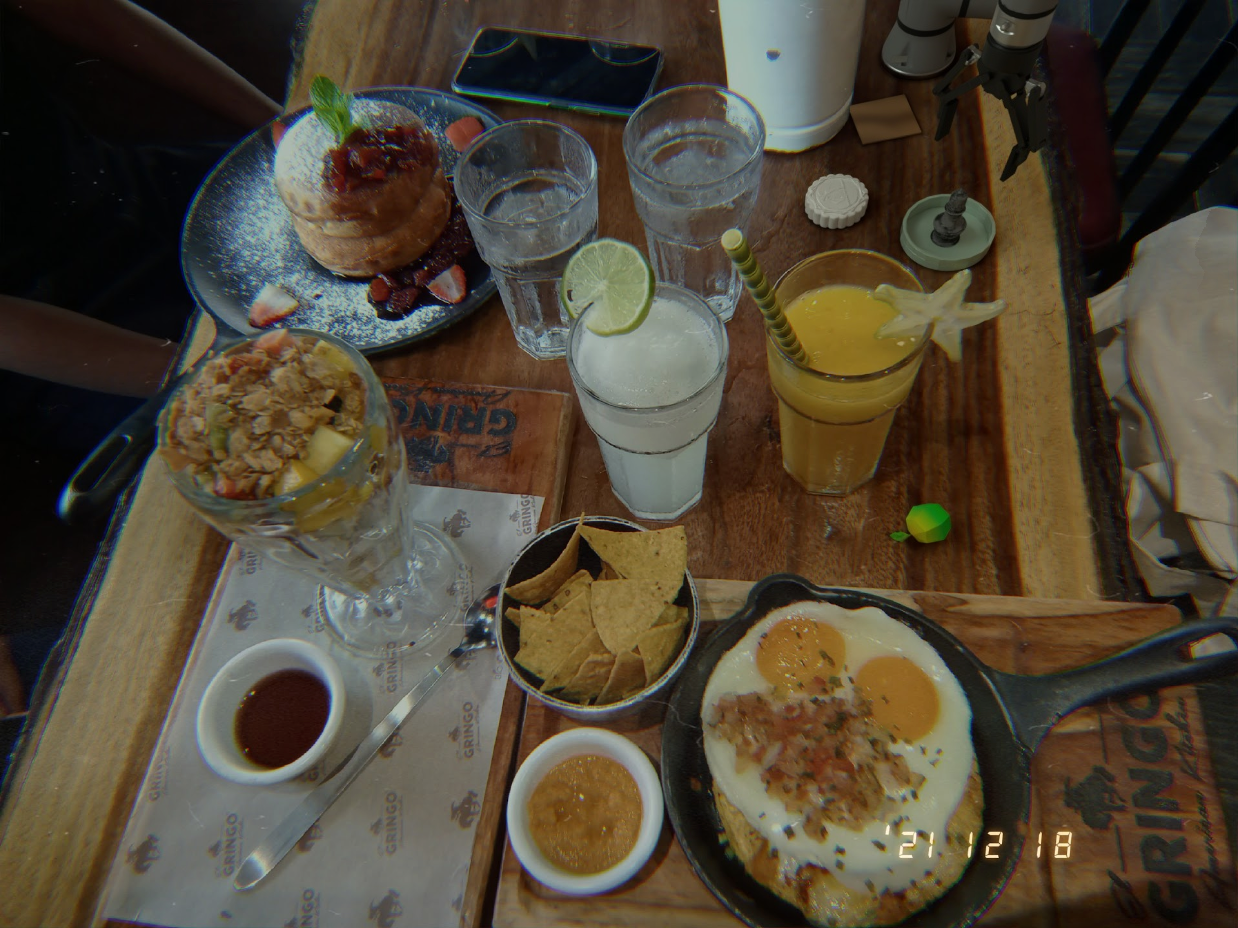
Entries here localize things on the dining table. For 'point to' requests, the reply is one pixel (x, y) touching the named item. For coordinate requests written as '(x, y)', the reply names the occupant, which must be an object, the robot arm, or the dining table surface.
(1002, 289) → the dining table surface
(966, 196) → the grey chess piece
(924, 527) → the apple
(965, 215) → the green round tray
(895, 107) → the coaster
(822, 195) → the mooncake
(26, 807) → the dining table surface
